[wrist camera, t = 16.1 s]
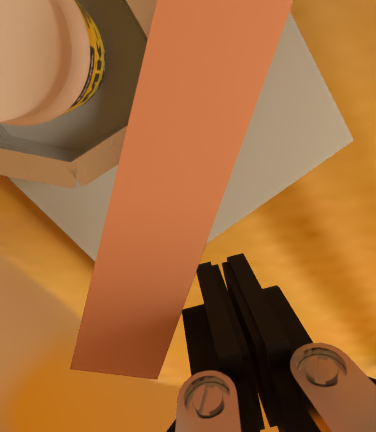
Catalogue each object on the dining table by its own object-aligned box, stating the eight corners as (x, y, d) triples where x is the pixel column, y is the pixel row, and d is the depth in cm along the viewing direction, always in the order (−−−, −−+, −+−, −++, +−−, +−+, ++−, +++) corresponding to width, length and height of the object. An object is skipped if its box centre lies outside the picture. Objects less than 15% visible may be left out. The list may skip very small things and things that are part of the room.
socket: (-77, -128, 13) (-124, -171, 10) (190, -37, 15) (199, -56, 13) (-69, 143, 16) (-103, 155, 14) (144, 185, 19) (144, 201, 16)
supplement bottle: (110, 110, 17) (84, 143, 9) (9, 107, 16) (-111, 140, 9) (104, -4, 15) (66, -81, 7) (-10, -11, 14) (-184, -105, 7)
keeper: (236, -519, 5) (282, -808, 3) (429, -369, 6) (542, -541, 4) (60, 324, 10) (44, 372, 9) (173, 341, 11) (178, 388, 10)
